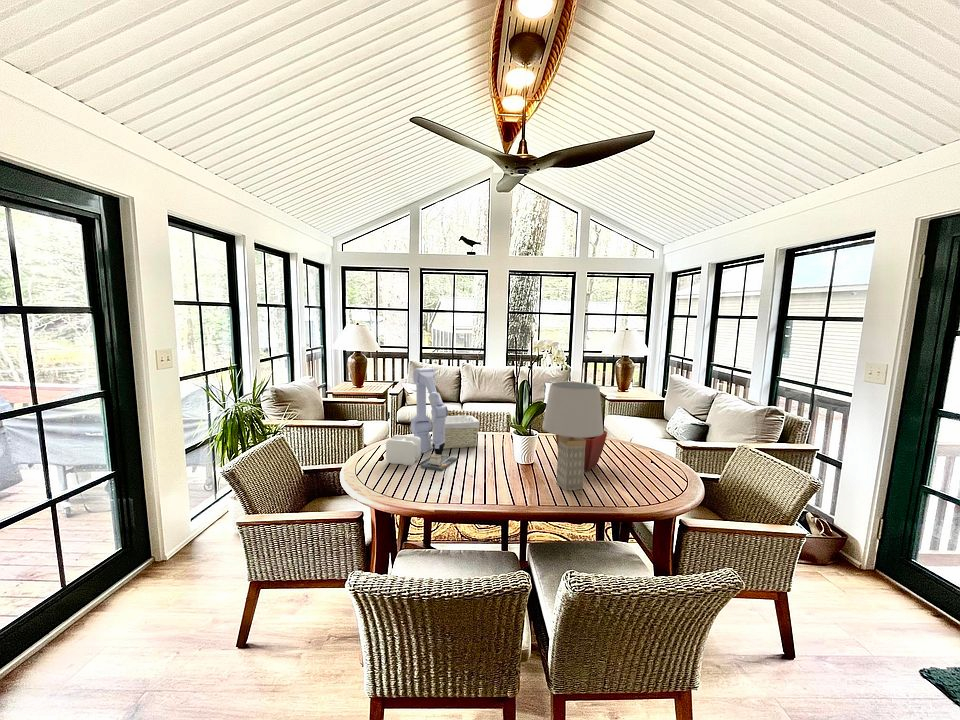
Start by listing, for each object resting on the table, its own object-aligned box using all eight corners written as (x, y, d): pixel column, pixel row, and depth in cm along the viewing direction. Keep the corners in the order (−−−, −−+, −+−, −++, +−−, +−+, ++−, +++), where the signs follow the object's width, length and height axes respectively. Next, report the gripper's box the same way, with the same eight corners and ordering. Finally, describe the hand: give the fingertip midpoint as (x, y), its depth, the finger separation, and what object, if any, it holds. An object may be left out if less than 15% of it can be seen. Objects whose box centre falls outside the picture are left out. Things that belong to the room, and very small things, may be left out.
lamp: (555, 501, 169) (560, 391, 165) (530, 477, 193) (534, 380, 189) (611, 496, 176) (618, 389, 172) (581, 473, 200) (586, 380, 196)
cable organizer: (383, 463, 206) (384, 439, 205) (392, 456, 216) (392, 433, 215) (414, 466, 203) (414, 442, 202) (421, 459, 213) (421, 436, 212)
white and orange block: (433, 461, 206) (433, 453, 206) (440, 463, 204) (441, 454, 204) (430, 463, 203) (430, 455, 203) (437, 465, 202) (438, 456, 201)
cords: (433, 456, 219) (433, 454, 218) (436, 456, 218) (436, 455, 218) (418, 465, 205) (418, 463, 205) (421, 466, 204) (421, 464, 204)
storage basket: (471, 439, 250) (471, 414, 249) (480, 447, 235) (480, 421, 234) (430, 442, 243) (430, 416, 241) (436, 451, 227) (437, 423, 226)
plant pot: (590, 475, 198) (592, 439, 196) (552, 465, 210) (554, 431, 208) (606, 464, 213) (608, 431, 212) (570, 456, 225) (571, 424, 223)
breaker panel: (437, 456, 218) (437, 453, 218) (457, 460, 214) (457, 456, 214) (420, 467, 202) (420, 463, 202) (441, 471, 198) (442, 467, 198)
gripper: (432, 426, 212) (432, 453, 214) (428, 434, 198) (427, 463, 200) (447, 427, 212) (446, 453, 214) (443, 435, 198) (443, 464, 199)
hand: (438, 458), depth 207 cm, fingers closed
